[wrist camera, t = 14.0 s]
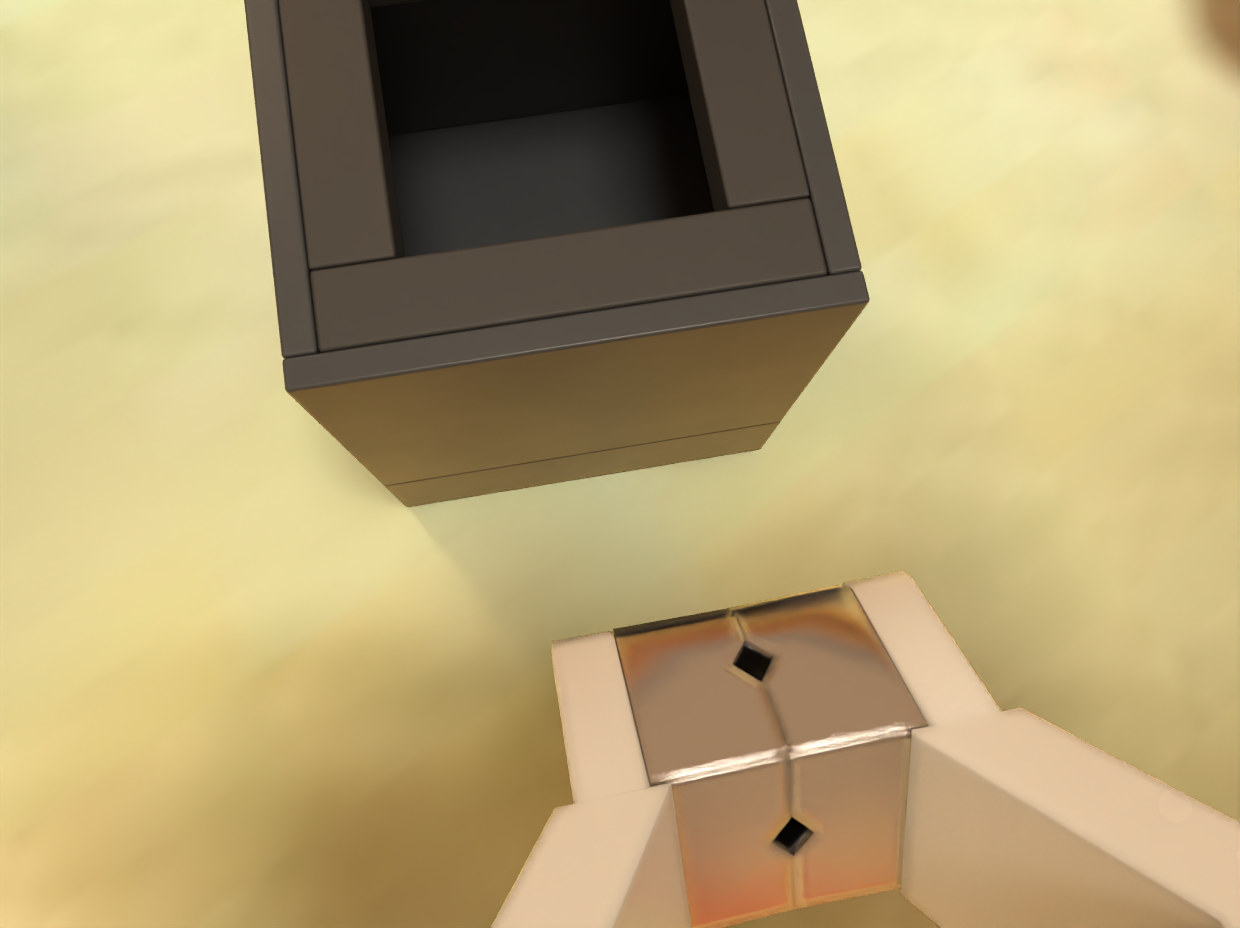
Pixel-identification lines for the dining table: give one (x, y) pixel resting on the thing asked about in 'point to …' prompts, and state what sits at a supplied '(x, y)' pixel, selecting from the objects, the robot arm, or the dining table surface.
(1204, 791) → the dining table surface
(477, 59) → the dark brown matte cube
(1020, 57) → the dining table surface
